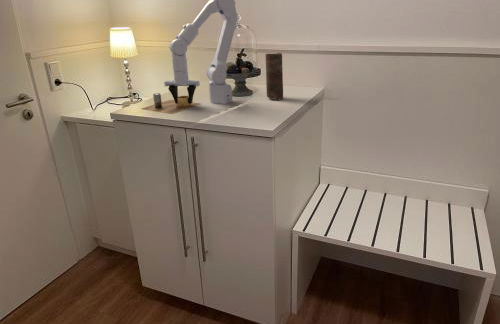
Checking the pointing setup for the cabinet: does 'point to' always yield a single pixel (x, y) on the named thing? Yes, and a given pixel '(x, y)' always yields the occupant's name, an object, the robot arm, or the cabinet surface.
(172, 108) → the walnut board
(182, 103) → the wooden barrel ring
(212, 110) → the cabinet surface
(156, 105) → the steel piston
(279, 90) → the candle
